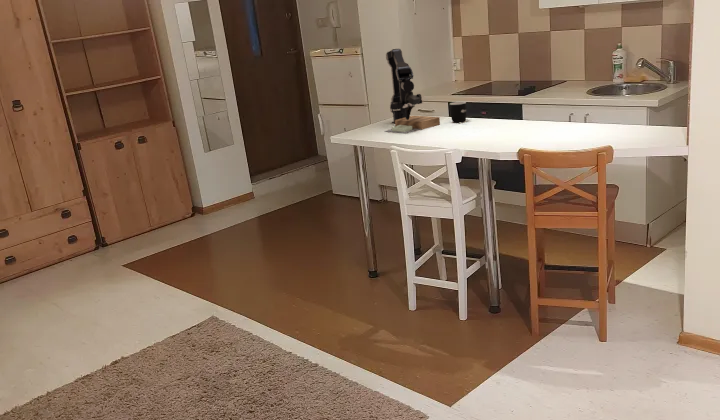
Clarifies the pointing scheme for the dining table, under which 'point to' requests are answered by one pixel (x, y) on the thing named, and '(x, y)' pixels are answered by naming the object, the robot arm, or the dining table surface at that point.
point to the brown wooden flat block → (419, 122)
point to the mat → (403, 132)
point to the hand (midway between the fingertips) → (407, 119)
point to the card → (402, 128)
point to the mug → (458, 111)
